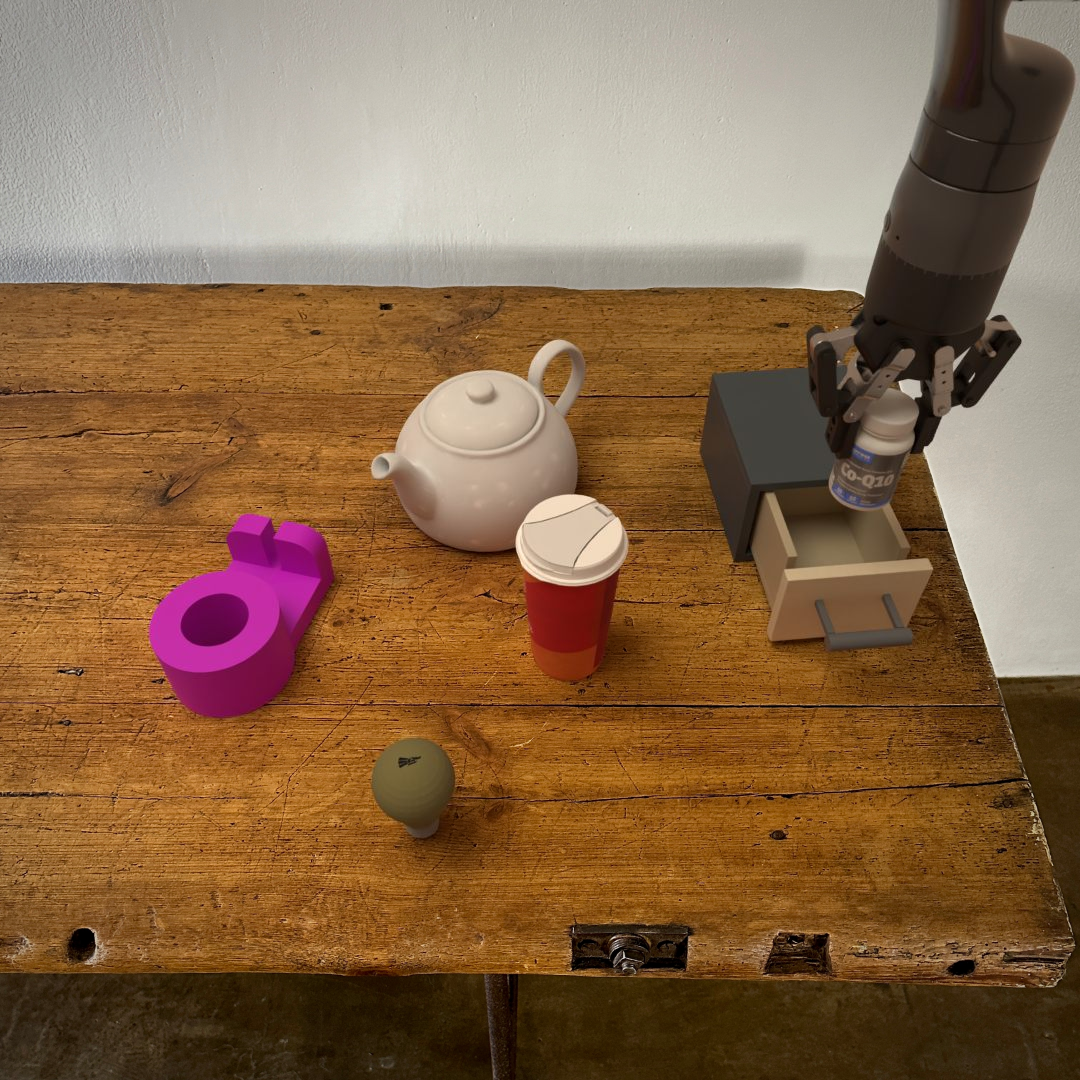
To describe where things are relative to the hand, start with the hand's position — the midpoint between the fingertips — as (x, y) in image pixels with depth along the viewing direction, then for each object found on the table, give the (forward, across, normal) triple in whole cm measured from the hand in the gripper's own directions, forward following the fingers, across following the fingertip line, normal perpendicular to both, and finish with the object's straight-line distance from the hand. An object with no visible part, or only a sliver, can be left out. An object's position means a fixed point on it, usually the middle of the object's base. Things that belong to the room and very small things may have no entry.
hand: (875, 448), depth 70 cm
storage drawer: (+18, 0, +1) cm, 18 cm away
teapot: (+19, -27, +17) cm, 37 cm away
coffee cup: (+19, -22, -2) cm, 29 cm away
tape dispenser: (+19, -49, +2) cm, 52 cm away
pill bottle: (+5, 0, 0) cm, 5 cm away
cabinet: (+19, 0, +14) cm, 23 cm away
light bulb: (+19, -34, -16) cm, 43 cm away
